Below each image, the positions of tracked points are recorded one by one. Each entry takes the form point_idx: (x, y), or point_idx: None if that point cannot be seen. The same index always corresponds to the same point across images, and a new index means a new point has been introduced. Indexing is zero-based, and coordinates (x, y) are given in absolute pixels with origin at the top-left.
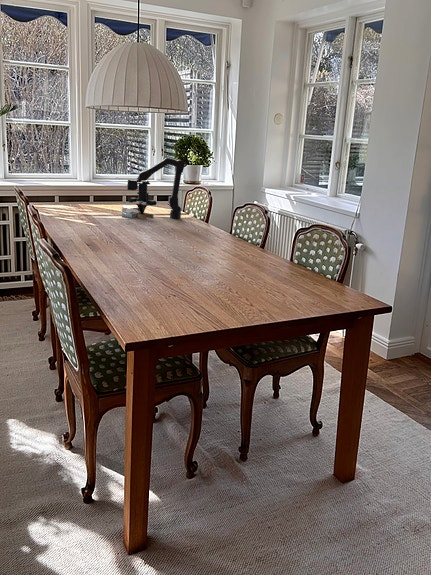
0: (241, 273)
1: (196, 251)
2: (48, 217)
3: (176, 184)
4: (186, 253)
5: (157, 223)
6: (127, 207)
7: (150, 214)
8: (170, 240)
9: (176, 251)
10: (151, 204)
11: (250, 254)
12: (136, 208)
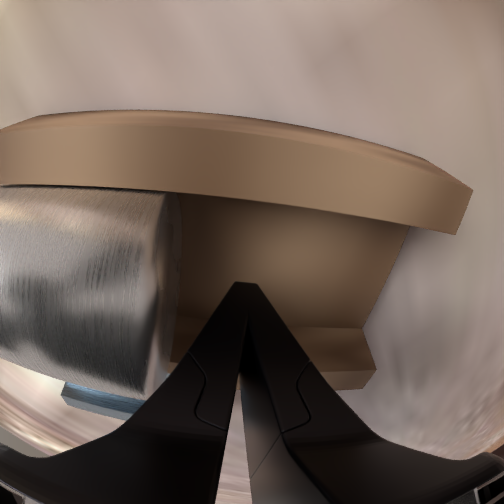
0: (498, 441)
1: (483, 442)
2: (13, 433)
3: None
4: (465, 454)
5: (464, 353)
6: None
7: (415, 221)
8: (458, 446)
9: (453, 459)
10: (490, 498)
11: None
12: (76, 384)
